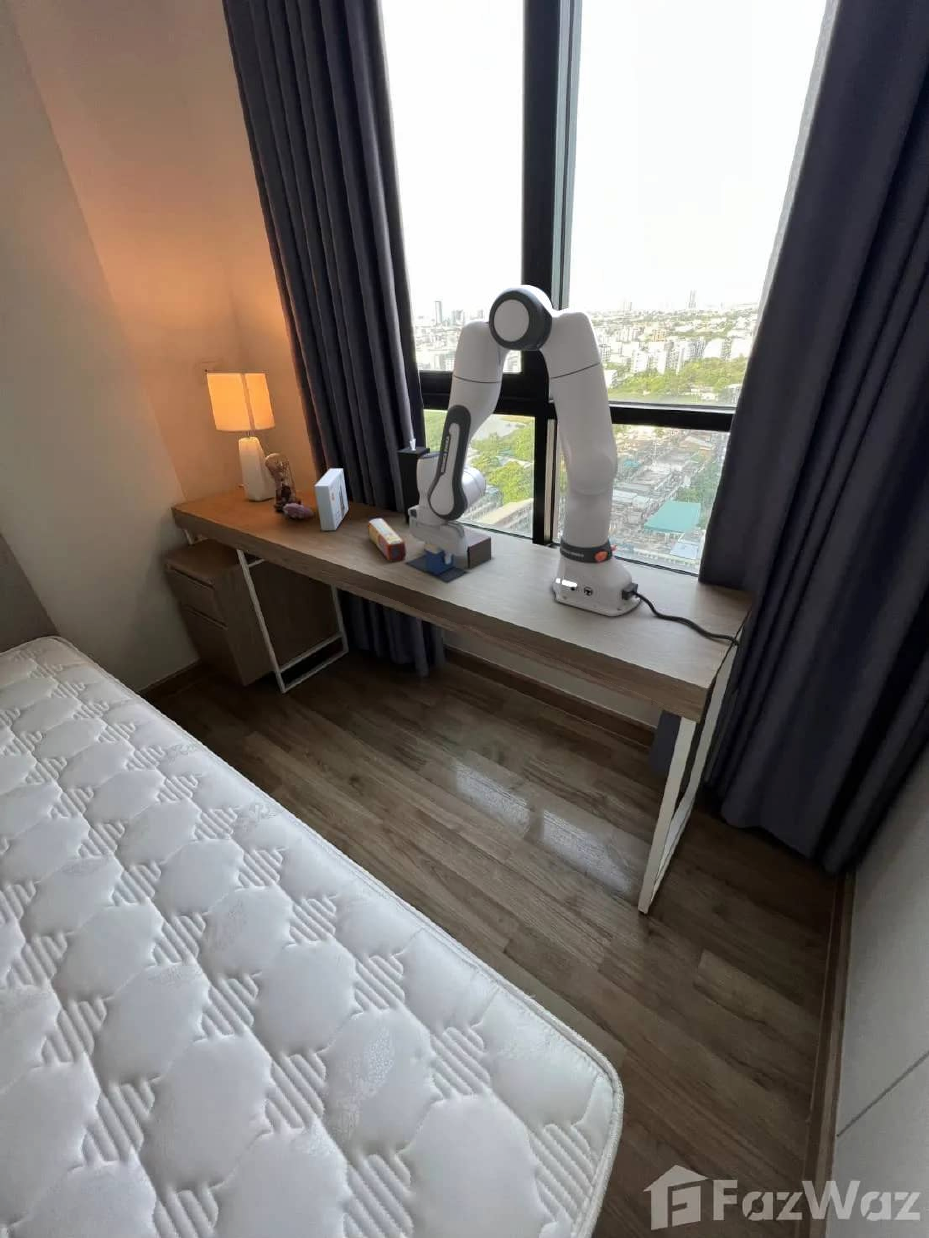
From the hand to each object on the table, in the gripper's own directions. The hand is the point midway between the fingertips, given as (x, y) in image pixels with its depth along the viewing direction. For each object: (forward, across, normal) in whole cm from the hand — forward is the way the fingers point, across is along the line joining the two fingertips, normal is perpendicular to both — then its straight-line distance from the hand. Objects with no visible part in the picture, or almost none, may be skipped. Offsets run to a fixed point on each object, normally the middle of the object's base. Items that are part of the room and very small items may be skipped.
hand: (439, 559), depth 142 cm
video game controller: (+4, +72, +6) cm, 72 cm away
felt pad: (+3, +2, 0) cm, 4 cm away
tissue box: (+4, +34, -21) cm, 40 cm away
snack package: (+4, +24, +1) cm, 24 cm away
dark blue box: (+3, 0, 0) cm, 3 cm away
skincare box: (+4, +59, -2) cm, 59 cm away
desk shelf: (+3, +4, -11) cm, 12 cm away
